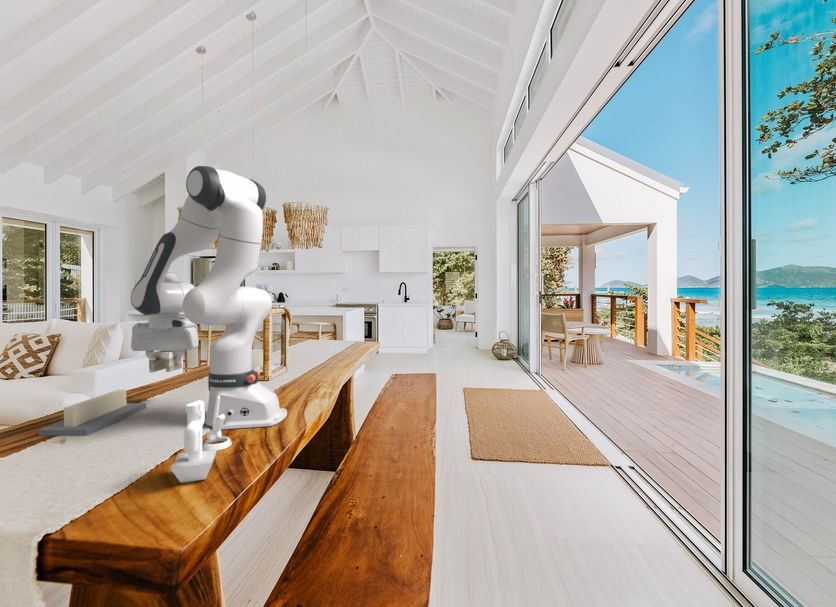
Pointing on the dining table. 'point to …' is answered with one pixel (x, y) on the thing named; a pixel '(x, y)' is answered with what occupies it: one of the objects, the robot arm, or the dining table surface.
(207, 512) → the dining table surface
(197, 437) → the figurine
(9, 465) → the dining table surface
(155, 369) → the cabinet block
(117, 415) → the cleat board
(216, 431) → the hook
